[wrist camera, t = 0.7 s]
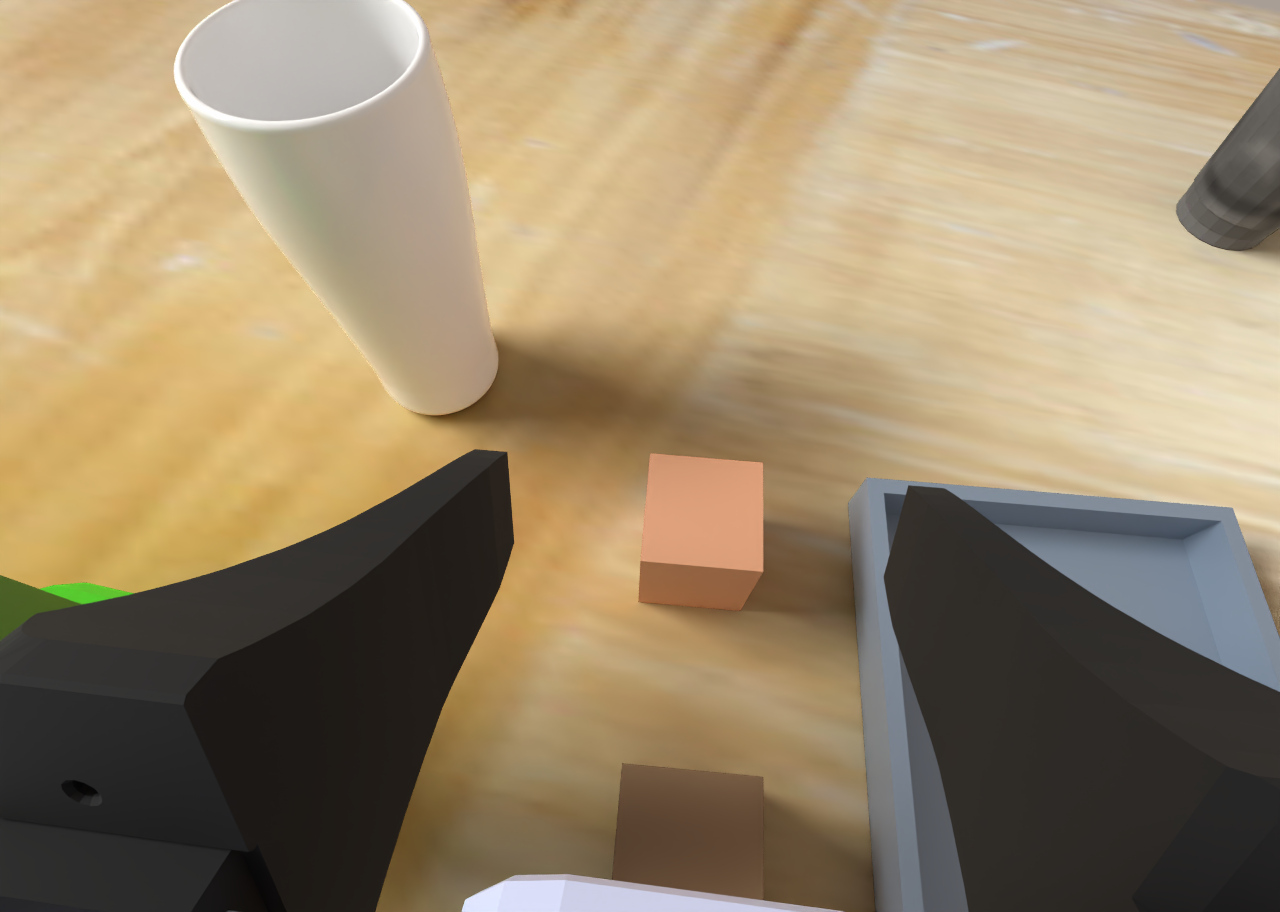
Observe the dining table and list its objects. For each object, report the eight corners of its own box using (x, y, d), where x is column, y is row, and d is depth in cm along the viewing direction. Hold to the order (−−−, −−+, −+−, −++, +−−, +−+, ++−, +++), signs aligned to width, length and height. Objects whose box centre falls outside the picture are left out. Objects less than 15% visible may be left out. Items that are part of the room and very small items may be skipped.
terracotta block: (740, 611, 26) (763, 571, 21) (638, 602, 26) (640, 560, 21) (741, 516, 28) (763, 462, 23) (646, 509, 28) (650, 453, 23)
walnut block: (735, 919, 21) (763, 951, 17) (611, 906, 21) (607, 935, 17) (737, 781, 23) (763, 777, 19) (623, 770, 23) (622, 763, 19)
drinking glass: (511, 307, 33) (430, -32, 19) (522, 424, 29) (434, 116, 16) (371, 323, 32) (188, -16, 19) (367, 444, 29) (144, 141, 16)
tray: (1399, 1205, 18) (1505, 1260, 16) (891, 1149, 19) (927, 1196, 16) (1183, 531, 28) (1232, 507, 25) (848, 503, 28) (866, 477, 26)
